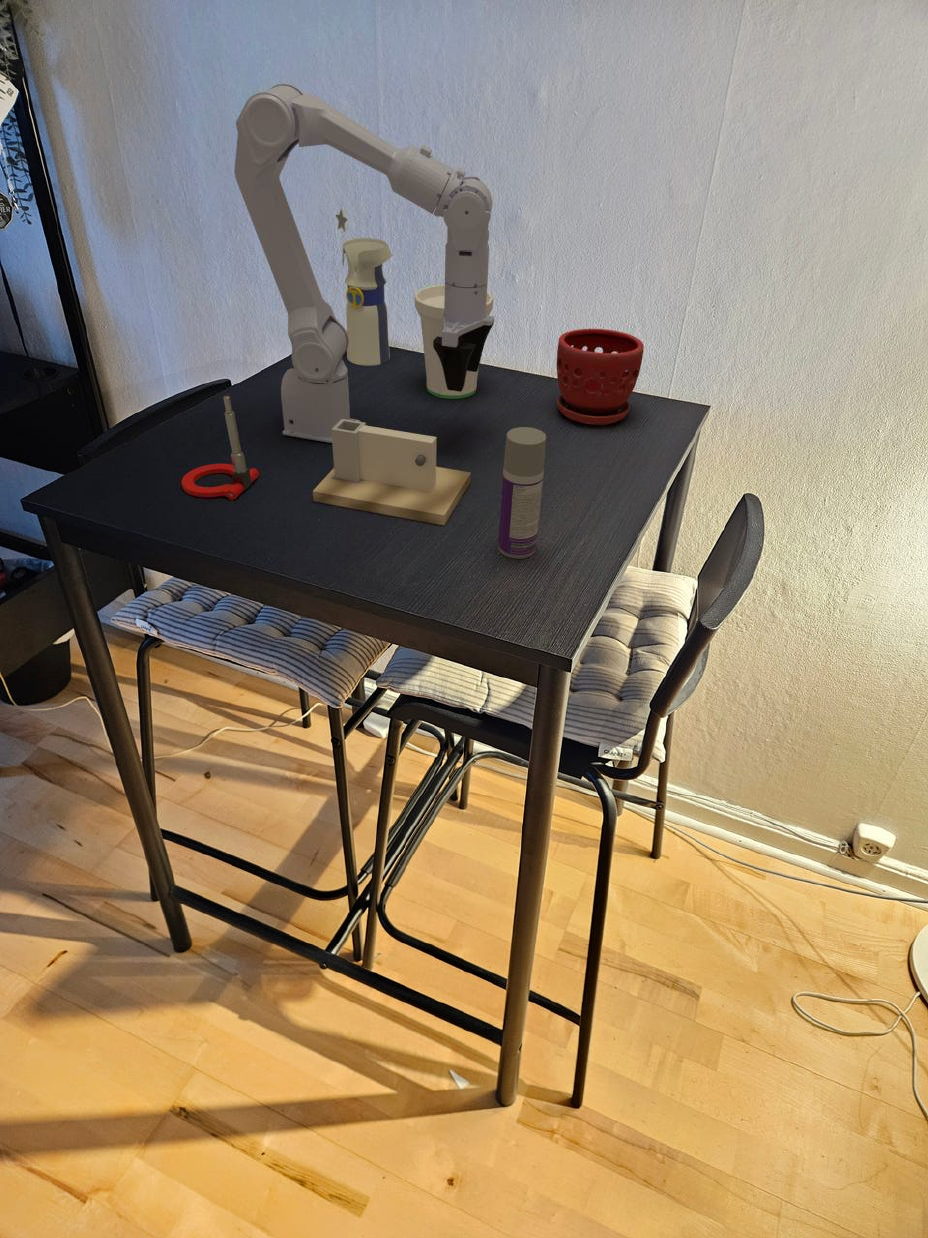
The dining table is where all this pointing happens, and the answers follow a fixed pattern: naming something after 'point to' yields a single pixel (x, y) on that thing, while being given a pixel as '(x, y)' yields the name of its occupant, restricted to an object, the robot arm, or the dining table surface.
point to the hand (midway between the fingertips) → (462, 379)
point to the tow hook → (224, 467)
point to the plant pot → (597, 374)
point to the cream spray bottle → (366, 299)
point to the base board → (397, 496)
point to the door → (383, 455)
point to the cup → (431, 315)
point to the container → (521, 492)
